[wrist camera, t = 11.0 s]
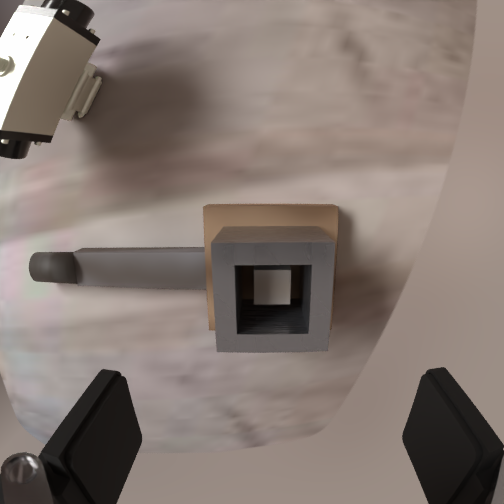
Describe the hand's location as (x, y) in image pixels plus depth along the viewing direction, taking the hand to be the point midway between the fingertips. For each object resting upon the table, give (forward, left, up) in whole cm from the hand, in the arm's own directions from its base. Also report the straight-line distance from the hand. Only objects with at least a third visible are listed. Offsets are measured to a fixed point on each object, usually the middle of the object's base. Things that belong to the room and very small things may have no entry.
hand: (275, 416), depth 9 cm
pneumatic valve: (-16, -17, -18) cm, 30 cm away
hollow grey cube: (0, 0, -16) cm, 16 cm away
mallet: (0, -8, -18) cm, 20 cm away
